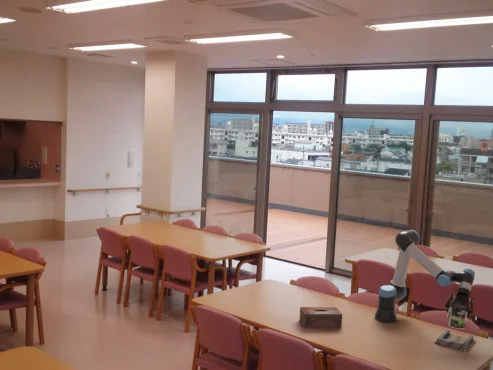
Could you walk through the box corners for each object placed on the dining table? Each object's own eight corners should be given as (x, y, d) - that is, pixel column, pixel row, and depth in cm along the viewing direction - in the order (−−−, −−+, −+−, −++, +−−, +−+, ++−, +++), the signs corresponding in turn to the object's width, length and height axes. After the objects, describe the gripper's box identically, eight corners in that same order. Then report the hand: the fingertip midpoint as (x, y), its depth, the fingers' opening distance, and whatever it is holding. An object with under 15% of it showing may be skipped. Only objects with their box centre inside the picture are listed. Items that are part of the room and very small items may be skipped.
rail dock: (434, 343, 345) (434, 338, 344) (444, 333, 363) (444, 328, 362) (467, 351, 333) (467, 346, 333) (475, 341, 351) (475, 336, 351)
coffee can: (468, 328, 343) (470, 307, 342) (455, 329, 341) (456, 308, 339) (458, 323, 353) (460, 302, 352) (444, 324, 350) (446, 303, 349)
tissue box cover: (304, 328, 361) (305, 314, 360) (299, 320, 375) (300, 307, 374) (341, 328, 364) (342, 314, 363) (335, 320, 379) (336, 307, 378)
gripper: (483, 296, 351) (475, 326, 340) (447, 289, 364) (439, 318, 353) (482, 290, 346) (474, 320, 335) (446, 283, 359) (437, 312, 348)
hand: (456, 319), depth 344 cm, fingers closed on coffee can, 10 cm apart
